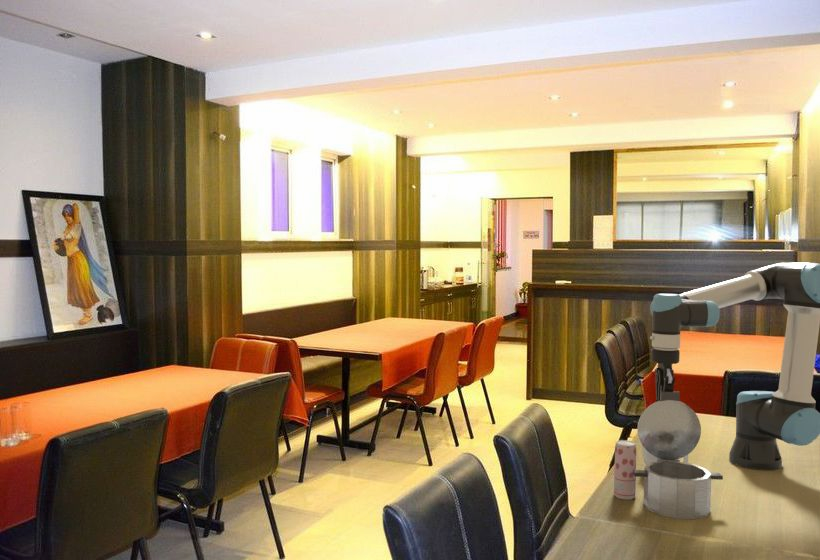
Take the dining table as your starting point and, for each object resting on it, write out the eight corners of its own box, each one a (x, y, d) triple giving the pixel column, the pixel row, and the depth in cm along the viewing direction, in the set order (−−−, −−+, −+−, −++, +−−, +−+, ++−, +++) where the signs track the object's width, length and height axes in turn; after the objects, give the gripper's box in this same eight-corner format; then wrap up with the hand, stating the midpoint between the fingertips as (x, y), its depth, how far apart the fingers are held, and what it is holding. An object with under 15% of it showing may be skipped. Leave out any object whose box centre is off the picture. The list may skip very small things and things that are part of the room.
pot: (710, 498, 192) (711, 462, 192) (731, 521, 176) (732, 482, 176) (626, 494, 194) (627, 459, 194) (640, 517, 178) (641, 478, 178)
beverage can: (609, 494, 195) (610, 441, 194) (625, 491, 197) (626, 439, 196) (623, 501, 190) (624, 446, 189) (639, 498, 192) (641, 444, 191)
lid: (700, 464, 192) (696, 461, 195) (702, 392, 191) (699, 390, 194) (637, 462, 194) (635, 458, 197) (639, 391, 192) (637, 389, 195)
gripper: (646, 344, 204) (644, 424, 205) (657, 351, 191) (654, 436, 192) (673, 345, 203) (670, 425, 205) (685, 352, 190) (682, 437, 192)
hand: (662, 430), depth 198 cm, fingers closed
